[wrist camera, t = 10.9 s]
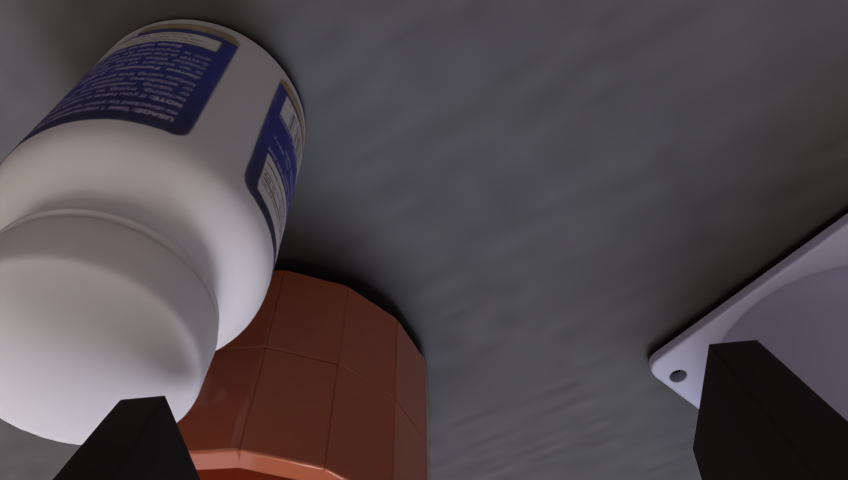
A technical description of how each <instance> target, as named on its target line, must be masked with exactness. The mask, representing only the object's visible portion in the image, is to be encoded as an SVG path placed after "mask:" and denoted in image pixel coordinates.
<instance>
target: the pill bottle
mask: <svg viewBox="0 0 848 480" xmlns="http://www.w3.org/2000/svg"><path fill="white" fill-rule="evenodd" d="M304 145H305V119H304V114H303V109H302V106H301V102H300V99H299V97H298V95H297V92H296V90H295V88H294V86H293V85H292V83H291V81H290V80H289V78H288V77H287V75H286V73H285V72H284V71H283V70H282V68H281V67H280V66H279V64H278V63H277V62H276V61H275V60H274V59H273V58H272V57H271V56H270V55H269V54H268V53H267V52H266V51H265V50H264V49H263V48H261V47H260V46H259V45H257V44H256V43H254V42H253V41H251V40H250V39H248V38H247V37H245V36H243V35H241V34H240V33H237V32H235V31H233V30H231V29H229V28H226V27H223V26H220V25H217V24H213V23H209V22H204V21H197V20H186V19H179V20H167V21H161V22H157V23H153V24H150V25H147V26H144V27H142V28H140V29H138V30H136V31H134V32H132V33H130V34H129V35H127V36H125V37H124V38H123V39H121V40H120V41H119V42H118V43H116V44H115V45H114V46H113V47H112V48H111V49H110V50H109V51H108V52H107V53H106V54H105V55H104V56H103V57H102V58H101V59H100V60H99V61H98V62H97V63H96V64H95V66H94V67H93V68H92V69H91V70H90V71H89V72H88V73H87V74H86V75H85V76H84V77H83V78H82V79H81V80H80V81H79V82H78V83H77V85H76V86H75V87H74V88H73V89H72V90H71V91H70V92H69V93H68V94H67V95H66V96H65V97H64V98H63V99H62V100H61V101H60V102H59V103H58V104H57V105H56V106H55V107H54V108H53V110H52V111H51V112H50V113H49V114H48V115H47V116H46V117H45V118H44V119H43V120H42V121H41V122H40V123H39V124H38V125H37V126H36V127H35V128H34V129H33V130H32V131H31V132H30V133H29V134H28V135H27V136H26V137H25V138H24V139H23V140H22V141H21V142H20V143H19V144H18V145H17V146H16V147H15V148H14V149H13V150H12V152H11V153H10V154H9V155H8V156H7V157H6V158H5V160H4V161H3V162H2V164H1V165H0V418H1V419H3V420H4V421H6V422H8V423H10V424H12V425H14V426H15V427H17V428H19V429H22V430H25V431H28V432H30V433H33V434H35V435H38V436H40V437H43V438H47V439H51V440H55V441H59V442H63V443H70V444H77V445H82V444H83V443H84V442H85V441H86V439H87V438H88V437H89V436H90V435H91V433H92V432H93V431H94V430H95V429H96V428H97V426H98V425H99V424H100V423H101V422H102V420H103V419H104V418H105V417H106V416H107V415H108V413H109V412H110V411H111V410H112V409H113V408H114V406H115V405H116V404H117V403H118V402H119V401H120V400H123V399H133V398H144V397H155V396H165V397H166V399H167V402H168V404H169V406H170V409H171V411H172V413H173V416H174V418H175V421H176V423H177V422H178V421H179V420H181V419H182V418H183V417H184V416H185V415H186V414H187V413H188V411H189V410H190V408H191V407H192V406H193V404H194V403H195V401H196V399H197V397H198V395H199V393H200V390H201V387H202V384H203V382H204V379H205V376H206V374H207V371H208V369H209V366H210V363H211V361H212V358H213V356H214V354H215V351H216V350H218V349H220V348H222V347H223V346H225V345H226V344H228V343H229V342H231V341H232V340H233V339H234V338H235V337H237V336H238V335H239V334H240V333H241V332H242V331H243V330H244V329H245V328H246V327H247V326H248V325H249V323H250V322H251V321H252V319H253V318H254V317H255V315H256V313H257V312H258V310H259V308H260V307H261V305H262V302H263V300H264V298H265V296H266V293H267V290H268V287H269V284H270V281H271V278H272V275H273V271H274V268H275V264H276V260H277V256H278V251H279V248H280V244H281V240H282V236H283V232H284V228H285V224H286V220H287V216H288V212H289V208H290V205H291V201H292V197H293V193H294V190H295V185H296V182H297V178H298V174H299V170H300V165H301V161H302V157H303V151H304Z"/></svg>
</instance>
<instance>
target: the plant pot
mask: <svg viewBox="0 0 848 480" xmlns="http://www.w3.org/2000/svg"><path fill="white" fill-rule="evenodd" d="M177 425H178V428H179V430H180V432H181V435H182V437H183V439H184V442H185V444H186V447H187V449H188V451H189V454H190V456H191V458H192V461H193V463H194V465H195V468H196V470H197V473H198V475H199V477H200V480H431V468H430V417H429V394H428V383H427V372H426V362H425V361H424V359H423V357H422V356H421V354H420V353H419V351H418V350H417V348H416V347H415V345H414V344H413V342H412V341H411V339H410V338H409V336H408V335H407V333H406V332H405V330H404V329H403V327H402V326H401V324H400V323H399V321H398V320H397V319H396V318H395V317H393V316H392V315H390V314H389V313H387V312H386V311H384V310H383V309H381V308H380V307H378V306H377V305H375V304H374V303H372V302H371V301H369V300H368V299H366V298H365V297H363V296H362V295H360V294H359V293H357V292H356V291H354V290H352V289H351V288H349V287H347V286H345V285H341V284H338V283H334V282H330V281H326V280H322V279H318V278H314V277H311V276H307V275H303V274H299V273H295V272H291V271H288V270H285V271H284V270H275V271H273V275H272V278H271V281H270V284H269V287H268V290H267V293H266V296H265V298H264V300H263V302H262V305H261V307H260V308H259V310H258V312H257V313H256V315H255V317H254V318H253V319H252V321H251V322H250V323H249V325H248V326H247V327H246V328H245V329H244V330H243V331H242V332H241V333H240V334H239V335H238V336H237V337H235V338H234V339H233V340H232V341H231V342H229V343H228V344H226V345H225V346H223V347H222V348H220V349H218V350H216V351H215V354H214V356H213V358H212V361H211V363H210V366H209V369H208V371H207V374H206V376H205V379H204V382H203V384H202V387H201V390H200V393H199V395H198V397H197V399H196V401H195V403H194V404H193V406H192V407H191V408H190V410H189V411H188V413H187V414H186V415H185V416H184V417H183V418H182V419H181V420H179V421H178V422H177Z"/></svg>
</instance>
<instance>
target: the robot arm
mask: <svg viewBox="0 0 848 480" xmlns="http://www.w3.org/2000/svg"><path fill="white" fill-rule="evenodd" d="M649 367H650V369H651V372H652V374H653V375H654V376H655V377H656V378H658V379H659V380H660V381H662V382H663V383H664V384H666V385H667V386H668V387H670V388H671V389H672V390H674V391H675V392H676V393H678V394H679V395H680V396H682V397H683V398H684V399H686V400H687V401H688V402H690V403H691V404H692V405H694V406H695V407H696V408H698V409H699V413H698V420H697V426H696V433H695V439H694V446H693V451H694V454H695V458H696V461H697V464H698V468H699V471H700V475H701V478H702V480H848V213H847V214H846V215H844V216H843V217H842V218H840V219H839V220H838V221H836V222H835V223H833V224H832V225H831V226H829V227H828V228H826V229H825V230H824V231H822V232H821V233H820V234H818V235H817V236H815V237H814V238H813V239H811V240H810V241H808V242H807V243H806V244H804V245H803V246H802V247H800V248H799V249H797V250H796V251H795V252H793V253H792V254H791V255H789V256H788V257H786V258H785V259H784V260H782V261H781V262H779V263H778V264H777V265H775V266H774V267H773V268H771V269H770V270H768V271H767V272H766V273H764V274H763V275H761V276H760V277H759V278H757V279H756V280H755V281H753V282H752V283H750V284H749V285H748V286H746V287H745V288H743V289H742V290H741V291H739V292H738V293H737V294H735V295H734V296H732V297H731V298H730V299H728V300H727V301H726V302H724V303H723V304H721V305H720V306H719V307H717V308H716V309H714V310H713V311H712V312H710V313H709V314H708V315H706V316H705V317H703V318H702V319H701V320H699V321H698V322H696V323H695V324H694V325H692V326H691V327H690V328H688V329H687V330H685V331H684V332H683V333H681V334H680V335H678V336H677V337H676V338H674V339H673V340H672V341H670V342H669V343H667V344H666V345H665V346H663V347H662V348H660V349H659V350H658V351H656V352H655V353H654V354H653V355H652V356H651V357H650V359H649ZM676 370H681V371H679V372H677V373H672V372H674V371H676ZM53 480H200V477H199V475H198V473H197V470H196V468H195V465H194V463H193V461H192V458H191V456H190V454H189V451H188V449H187V447H186V444H185V442H184V439H183V437H182V435H181V432H180V430H179V428H178V425H177V423H176V421H175V418H174V416H173V413H172V411H171V409H170V406H169V404H168V402H167V399H166V397H165V396H155V397H144V398H133V399H123V400H120V401H119V402H118V403H117V404H116V405H115V406H114V408H113V409H112V410H111V411H110V412H109V413H108V415H107V416H106V417H105V418H104V419H103V420H102V422H101V423H100V424H99V425H98V426H97V428H96V429H95V430H94V431H93V432H92V433H91V435H90V436H89V437H88V438H87V439H86V441H85V442H84V443H83V444H82V445H81V447H80V448H79V449H78V450H77V451H76V453H75V454H74V455H73V456H72V457H71V459H70V460H69V461H68V462H67V463H66V465H65V466H64V467H63V468H62V469H61V470H60V472H59V473H58V474H57V475H56V476H55V478H54V479H53Z"/></svg>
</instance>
